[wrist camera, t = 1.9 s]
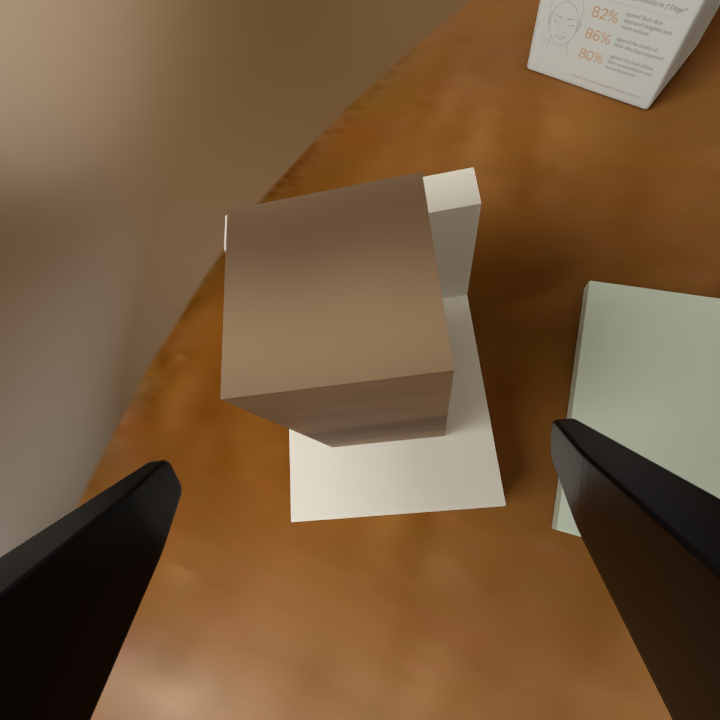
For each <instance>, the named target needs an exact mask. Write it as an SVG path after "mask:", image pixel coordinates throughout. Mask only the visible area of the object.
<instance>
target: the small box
mask: <svg viewBox="0 0 720 720" xmlns="http://www.w3.org/2000/svg"><path fill="white" fill-rule="evenodd" d="M719 6H720V0H540V4H539V9H538V14H537V19H536V24H535V29H534V34H533V40H532V45H531V50H530V55H529V60H528V64H527V67H528V69H530V70H533V71H536V72H539V73H542V74H545V75H547V76H550V77H553V78H556V79H559V80H562V81H564V82H567V83H570V84H573V85H576V86H579V87H582V88H585V89H587V90H590V91H593V92H596V93H599V94H602V95H605V96H607V97H610V98H613V99H616V100H619V101H622V102H625V103H628V104H631V105H634V106H637V107H640V108H642V109H648V108H649V107H650V106H651V104H652V103H653V102H654V100H655V99H656V98H657V96H658V95H659V94H660V93H661V91H662V90H663V89H664V87H665V86H666V85H667V84H668V82H669V81H670V80H671V78H672V77H673V76H674V75H675V73H676V72H677V71H678V70H679V68H680V67H681V66H682V64H683V63H684V62H685V60H686V59H687V58H688V57H689V55H690V54H691V53H692V51H693V50H694V49H695V48H696V46H697V45H698V43H699V41H700V39H701V38H702V36H703V34H704V32H705V30H706V29H707V27H708V25H709V23H710V22H711V20H712V18H713V16H714V14H715V13H716V11H717V9H718V8H719Z"/></svg>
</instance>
